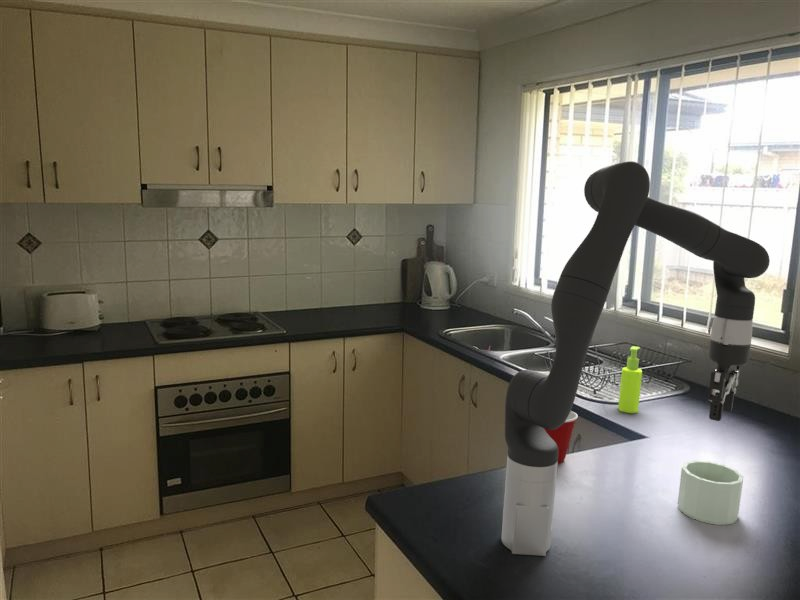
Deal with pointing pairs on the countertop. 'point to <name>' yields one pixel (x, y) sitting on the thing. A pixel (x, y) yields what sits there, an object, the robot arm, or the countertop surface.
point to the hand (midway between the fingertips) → (720, 415)
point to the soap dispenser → (630, 384)
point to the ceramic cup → (710, 492)
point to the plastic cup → (563, 435)
